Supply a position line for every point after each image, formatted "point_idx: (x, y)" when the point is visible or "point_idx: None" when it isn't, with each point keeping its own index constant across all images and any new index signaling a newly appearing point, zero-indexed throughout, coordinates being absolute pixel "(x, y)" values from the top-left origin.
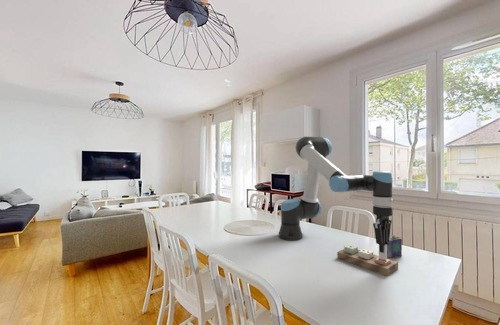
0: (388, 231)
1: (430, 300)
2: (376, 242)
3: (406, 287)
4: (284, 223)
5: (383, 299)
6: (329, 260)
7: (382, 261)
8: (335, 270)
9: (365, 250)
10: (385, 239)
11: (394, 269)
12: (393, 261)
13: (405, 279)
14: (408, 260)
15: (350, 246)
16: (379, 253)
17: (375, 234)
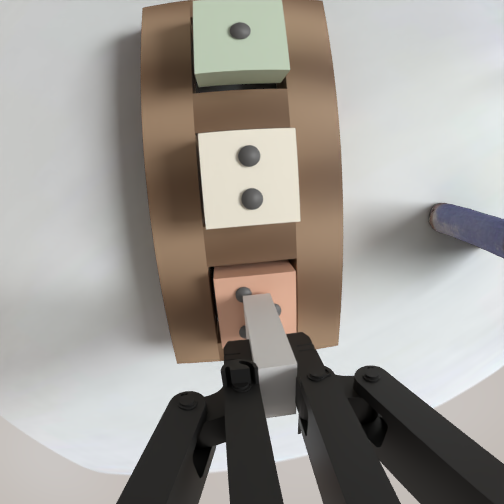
0: (413, 490)
1: None
2: (168, 407)
3: None
4: None
5: (31, 391)
6: (81, 37)
7: (221, 327)
8: (9, 153)
9: (271, 160)
10: (309, 445)
11: None
12: (325, 329)
13: None
14: (455, 292)
15: (239, 26)
16: (246, 318)
17: (123, 497)
